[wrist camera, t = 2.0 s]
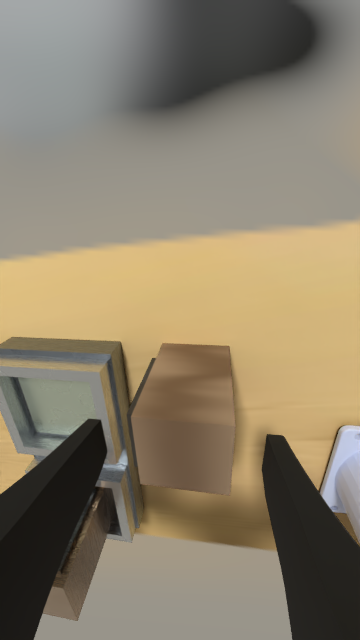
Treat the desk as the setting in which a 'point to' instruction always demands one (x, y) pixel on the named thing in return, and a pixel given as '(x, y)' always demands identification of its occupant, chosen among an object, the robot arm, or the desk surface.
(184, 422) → the walnut block
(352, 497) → the robot arm
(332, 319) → the desk surface
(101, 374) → the grey block holder
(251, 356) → the desk surface
